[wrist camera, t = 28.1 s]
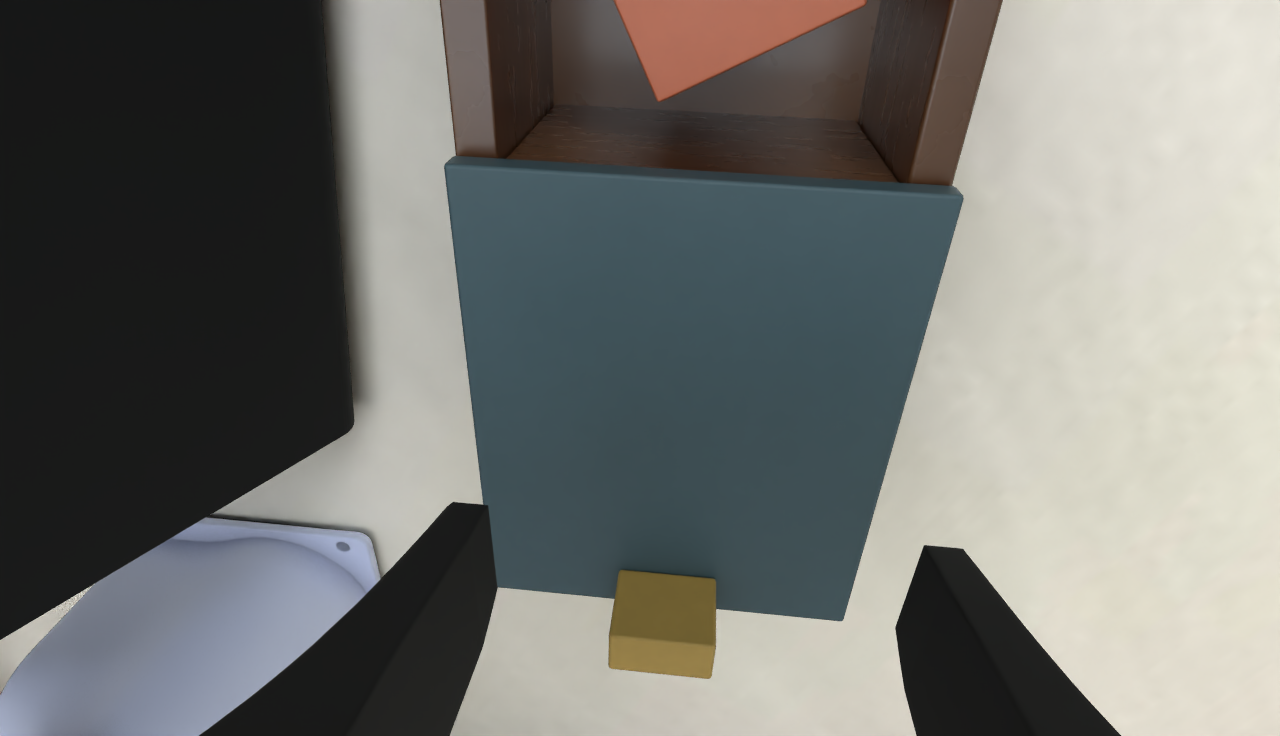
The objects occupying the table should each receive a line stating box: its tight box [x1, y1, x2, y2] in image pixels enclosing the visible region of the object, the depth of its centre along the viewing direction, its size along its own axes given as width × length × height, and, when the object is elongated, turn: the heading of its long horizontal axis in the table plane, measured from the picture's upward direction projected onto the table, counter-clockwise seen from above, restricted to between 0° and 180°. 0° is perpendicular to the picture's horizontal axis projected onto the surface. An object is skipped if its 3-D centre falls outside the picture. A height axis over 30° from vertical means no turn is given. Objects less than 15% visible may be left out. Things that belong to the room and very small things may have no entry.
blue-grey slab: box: [444, 156, 964, 679], centre depth 14 cm, size 9×11×3 cm
